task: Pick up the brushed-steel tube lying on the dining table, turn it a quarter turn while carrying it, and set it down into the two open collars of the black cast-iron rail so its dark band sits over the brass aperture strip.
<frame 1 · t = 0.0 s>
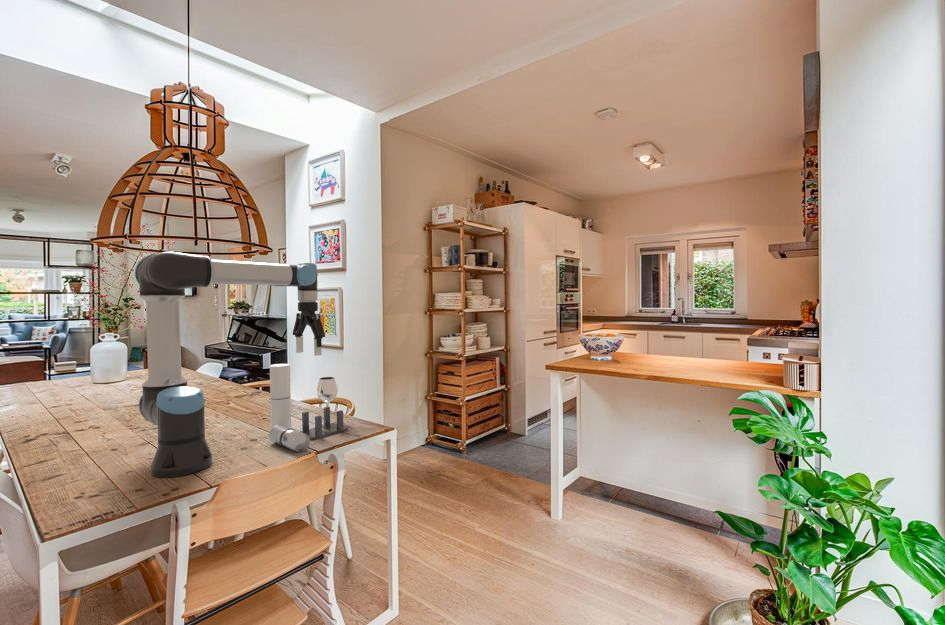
hand: (308, 353, 175), 28 cm above the table, fingers open, 13 cm apart
cylindrical container: (281, 430, 166), on the table
wineglass: (327, 422, 176), on the table
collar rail: (323, 432, 162), on the table
tube: (289, 446, 147), on the table
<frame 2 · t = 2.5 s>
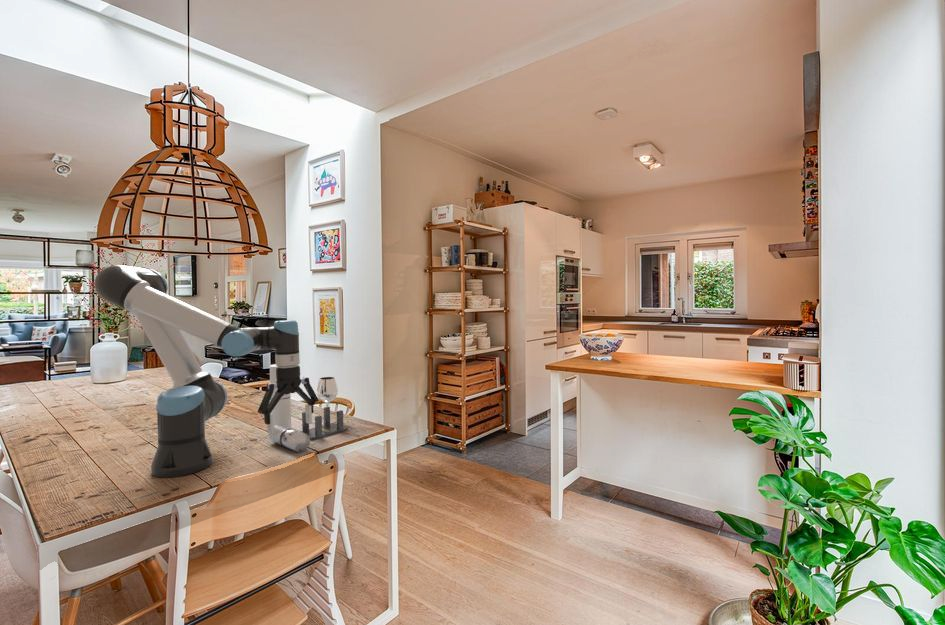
hand: (290, 428, 147), 6 cm above the table, fingers open, 13 cm apart
nothing on the table moved.
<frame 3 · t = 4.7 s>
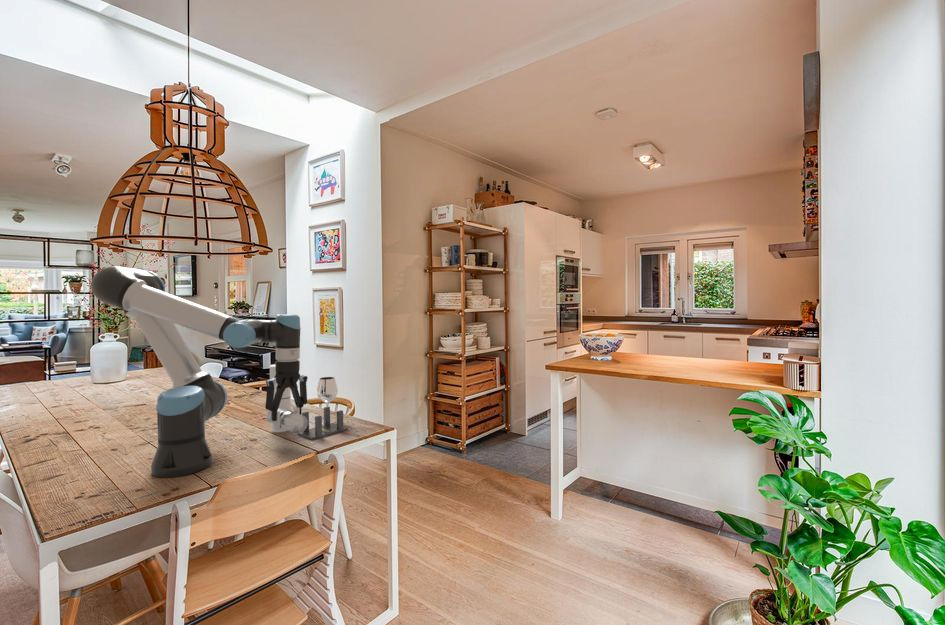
hand: (286, 427, 146), 7 cm above the table, fingers closed on tube, 6 cm apart
tube: (286, 428, 146), point 6 cm above the table, touching gripper
everything else where it was.
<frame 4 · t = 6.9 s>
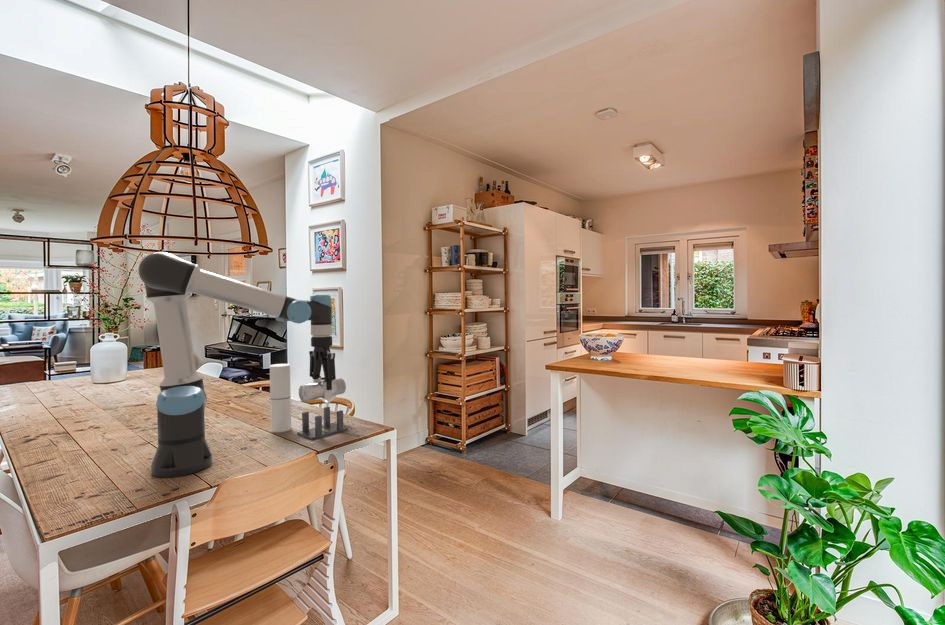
hand: (322, 397, 162), 13 cm above the table, fingers closed on tube, 6 cm apart
tube: (323, 397, 162), point 13 cm above the table, touching gripper
everything else where it was.
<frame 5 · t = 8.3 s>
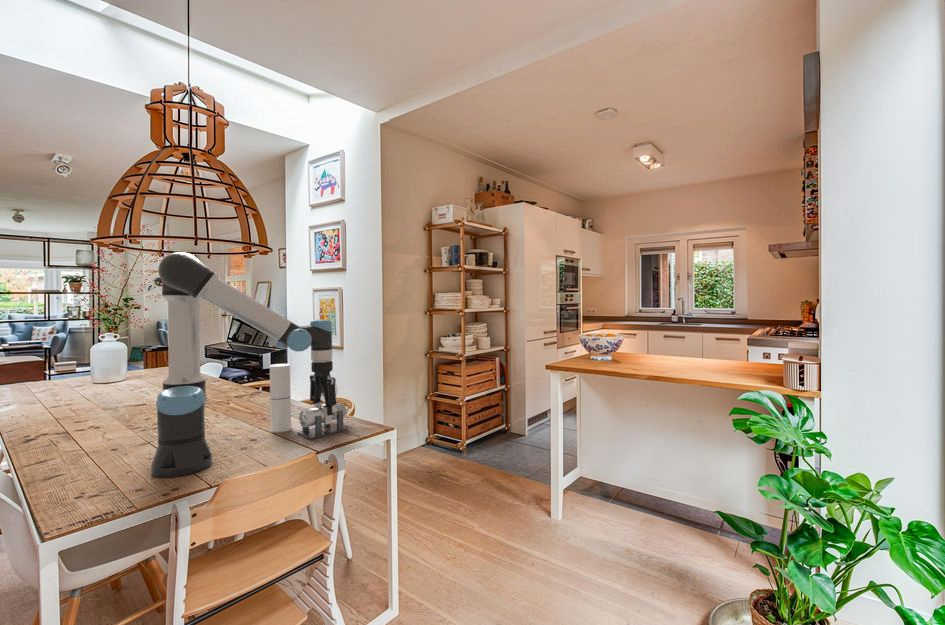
hand: (323, 421, 162), 4 cm above the table, fingers closed on tube, 6 cm apart
tube: (323, 422, 162), point 4 cm above the table, touching gripper
everything else where it was.
when the fingers open (2 cm above the table, at t = 9.2 s): tube stays where it is, resting on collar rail.
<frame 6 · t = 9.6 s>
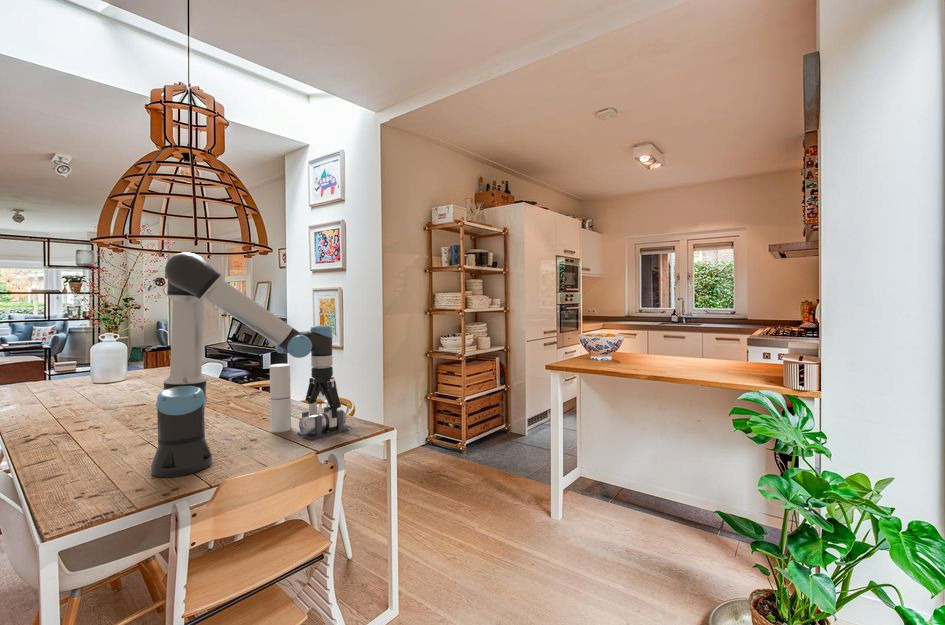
hand: (322, 423, 162), 4 cm above the table, fingers open, 12 cm apart
tube: (323, 429, 162), point 1 cm above the table, touching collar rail
everything else where it was.
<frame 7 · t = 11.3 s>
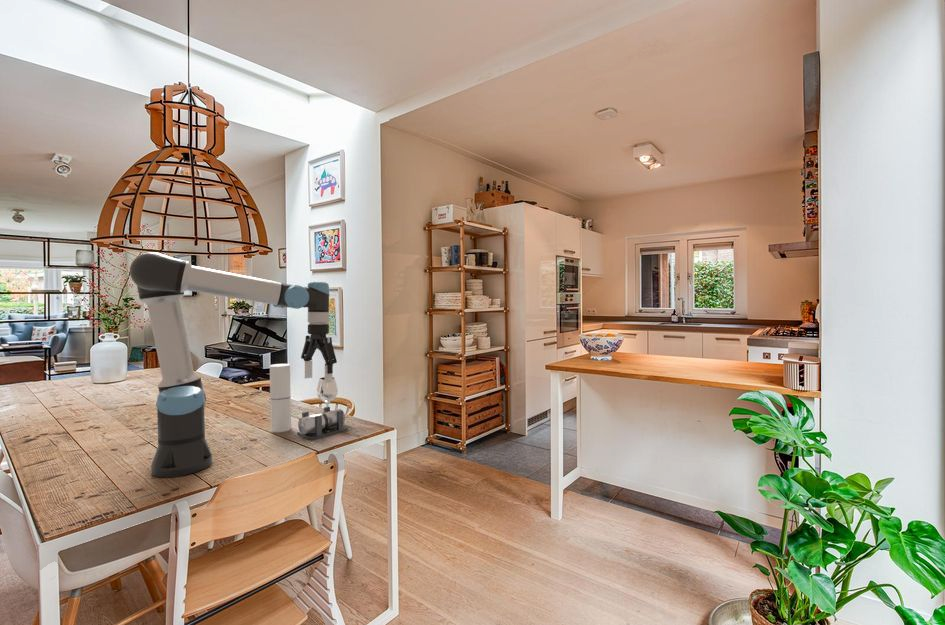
hand: (318, 380, 161), 20 cm above the table, fingers open, 13 cm apart
tube: (323, 429, 162), point 1 cm above the table, tilted 14°, touching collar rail
everything else where it was.
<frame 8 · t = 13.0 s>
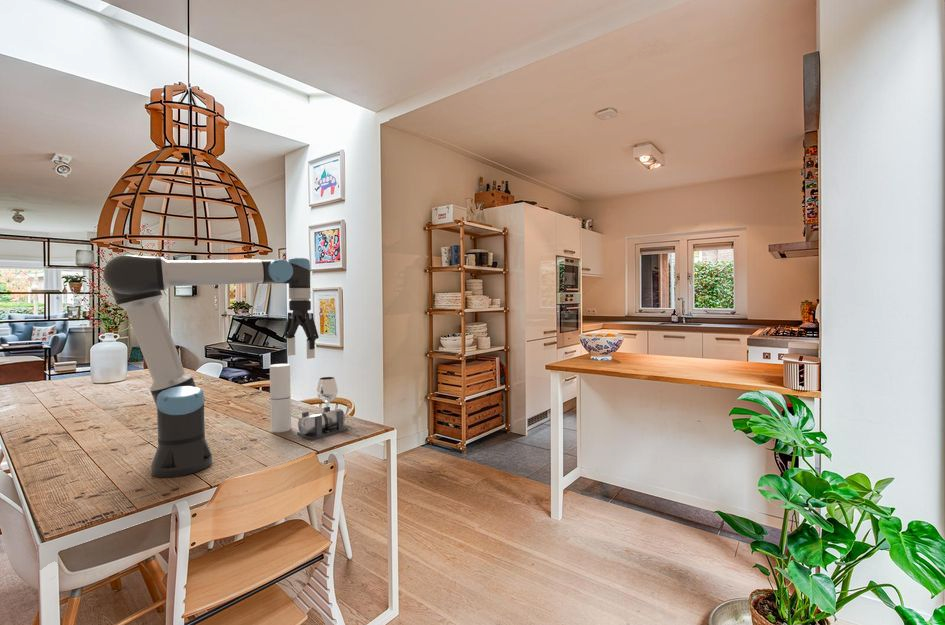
hand: (300, 356, 161), 29 cm above the table, fingers open, 13 cm apart
nothing on the table moved.
at the end: tube 0.1 cm off-centre on the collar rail, point 1.3 cm above the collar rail's base; tube touching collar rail; the gripper is holding nothing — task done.
